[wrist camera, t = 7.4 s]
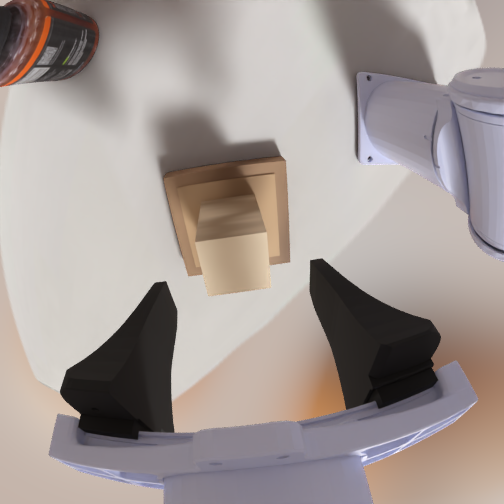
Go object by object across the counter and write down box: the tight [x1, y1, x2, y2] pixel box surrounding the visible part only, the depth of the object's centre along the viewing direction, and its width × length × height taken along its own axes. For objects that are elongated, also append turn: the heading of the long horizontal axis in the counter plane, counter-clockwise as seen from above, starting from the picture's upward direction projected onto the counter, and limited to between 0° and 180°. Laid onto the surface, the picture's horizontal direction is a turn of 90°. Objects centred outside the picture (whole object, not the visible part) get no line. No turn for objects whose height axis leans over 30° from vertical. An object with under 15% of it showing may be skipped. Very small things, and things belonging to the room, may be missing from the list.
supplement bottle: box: [0, 0, 99, 87], centre depth 8 cm, size 6×6×11 cm
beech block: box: [195, 194, 271, 296], centre depth 19 cm, size 4×4×6 cm
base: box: [163, 156, 290, 276], centre depth 22 cm, size 9×9×2 cm
